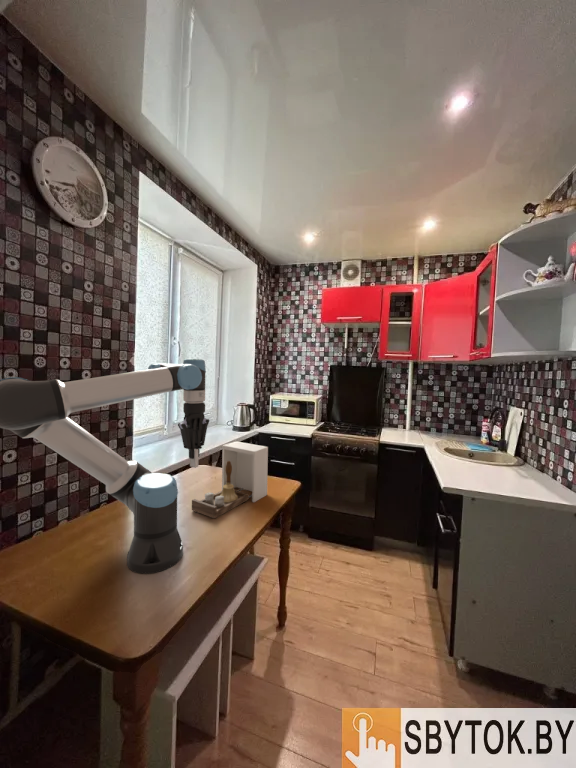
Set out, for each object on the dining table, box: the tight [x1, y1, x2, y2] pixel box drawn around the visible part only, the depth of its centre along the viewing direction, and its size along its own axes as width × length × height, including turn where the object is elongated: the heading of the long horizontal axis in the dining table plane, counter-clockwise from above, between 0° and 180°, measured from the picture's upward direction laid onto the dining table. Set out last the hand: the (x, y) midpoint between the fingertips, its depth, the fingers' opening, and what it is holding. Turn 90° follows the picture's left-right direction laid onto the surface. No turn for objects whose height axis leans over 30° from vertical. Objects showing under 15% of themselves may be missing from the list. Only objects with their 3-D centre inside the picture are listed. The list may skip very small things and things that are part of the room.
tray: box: [191, 489, 250, 519], centre depth 127 cm, size 20×12×5 cm, turn 149°
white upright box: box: [195, 440, 269, 519], centre depth 131 cm, size 29×18×22 cm, turn 149°
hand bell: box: [220, 461, 238, 503], centre depth 130 cm, size 8×8×16 cm
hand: (194, 466), depth 114 cm, fingers closed
